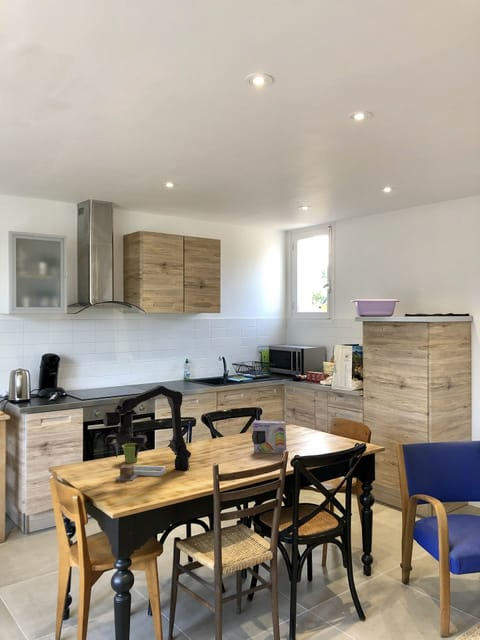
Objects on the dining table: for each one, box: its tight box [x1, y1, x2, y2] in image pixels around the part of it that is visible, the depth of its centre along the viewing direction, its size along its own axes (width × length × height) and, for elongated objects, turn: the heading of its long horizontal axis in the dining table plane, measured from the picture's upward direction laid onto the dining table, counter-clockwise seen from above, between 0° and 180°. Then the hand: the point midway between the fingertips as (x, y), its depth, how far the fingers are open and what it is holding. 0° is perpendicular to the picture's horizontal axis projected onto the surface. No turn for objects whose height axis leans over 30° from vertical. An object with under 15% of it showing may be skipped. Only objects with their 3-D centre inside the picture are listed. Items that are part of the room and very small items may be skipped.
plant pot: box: [121, 442, 139, 464], centre depth 275 cm, size 9×9×9 cm
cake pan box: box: [251, 419, 287, 455], centre depth 293 cm, size 19×5×18 cm, turn 73°
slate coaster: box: [115, 474, 139, 482], centre depth 246 cm, size 8×8×1 cm
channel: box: [134, 465, 167, 477], centre depth 255 cm, size 17×9×2 cm, turn 84°
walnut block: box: [119, 464, 135, 479], centre depth 246 cm, size 5×5×5 cm
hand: (126, 457), depth 246 cm, fingers open, 9 cm apart
